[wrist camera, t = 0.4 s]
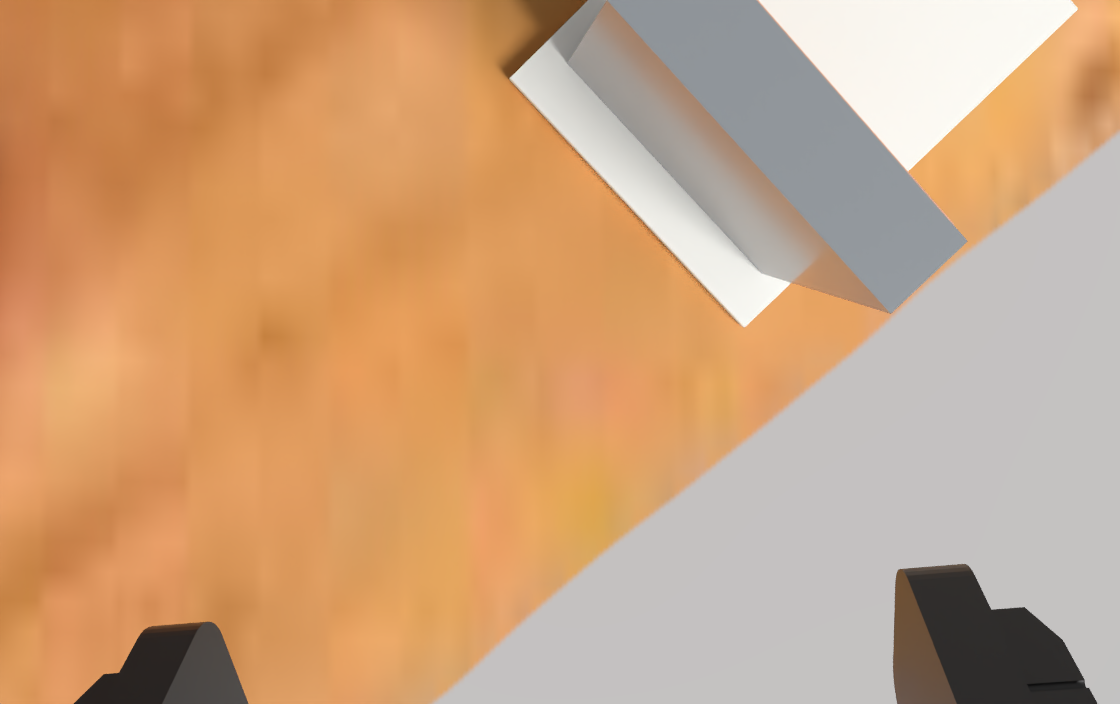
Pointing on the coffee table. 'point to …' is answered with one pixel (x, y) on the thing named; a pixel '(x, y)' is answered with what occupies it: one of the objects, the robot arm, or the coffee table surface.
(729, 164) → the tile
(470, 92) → the coffee table surface
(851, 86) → the mat
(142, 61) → the coffee table surface
